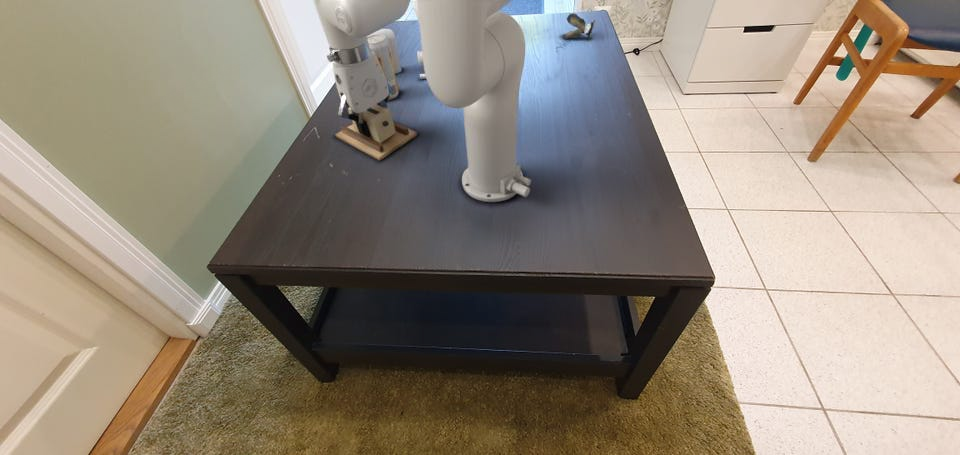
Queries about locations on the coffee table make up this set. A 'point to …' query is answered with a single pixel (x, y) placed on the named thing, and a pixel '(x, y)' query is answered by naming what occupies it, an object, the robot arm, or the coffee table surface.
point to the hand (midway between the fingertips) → (374, 128)
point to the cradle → (373, 146)
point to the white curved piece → (391, 47)
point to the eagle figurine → (578, 26)
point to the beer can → (384, 61)
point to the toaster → (378, 123)
